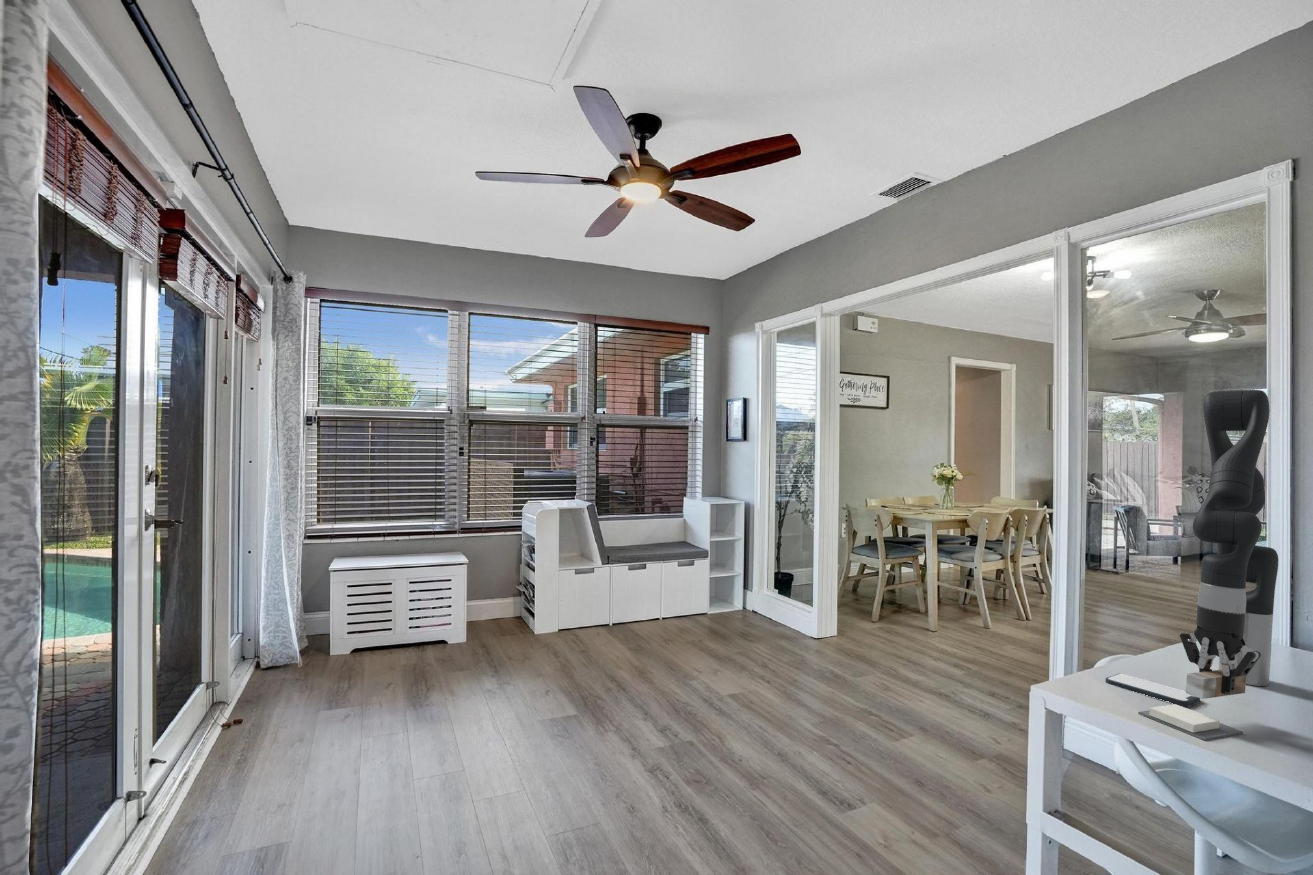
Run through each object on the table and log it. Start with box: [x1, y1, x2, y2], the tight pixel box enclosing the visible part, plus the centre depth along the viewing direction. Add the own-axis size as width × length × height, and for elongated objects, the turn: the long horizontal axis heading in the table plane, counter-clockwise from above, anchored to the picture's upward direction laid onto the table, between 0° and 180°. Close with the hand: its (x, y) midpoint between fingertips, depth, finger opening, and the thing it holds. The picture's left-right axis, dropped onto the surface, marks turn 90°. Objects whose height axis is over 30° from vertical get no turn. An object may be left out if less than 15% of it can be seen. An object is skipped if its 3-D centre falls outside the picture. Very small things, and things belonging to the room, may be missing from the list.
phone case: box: [1105, 673, 1201, 708], centre depth 149 cm, size 9×2×16 cm
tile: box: [1149, 704, 1220, 733], centre depth 132 cm, size 2×8×8 cm
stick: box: [1185, 669, 1247, 700], centre depth 135 cm, size 14×3×4 cm, turn 111°
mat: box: [1138, 709, 1244, 742], centre depth 132 cm, size 12×12×1 cm
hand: (1215, 689), depth 135 cm, fingers closed on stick, 3 cm apart
